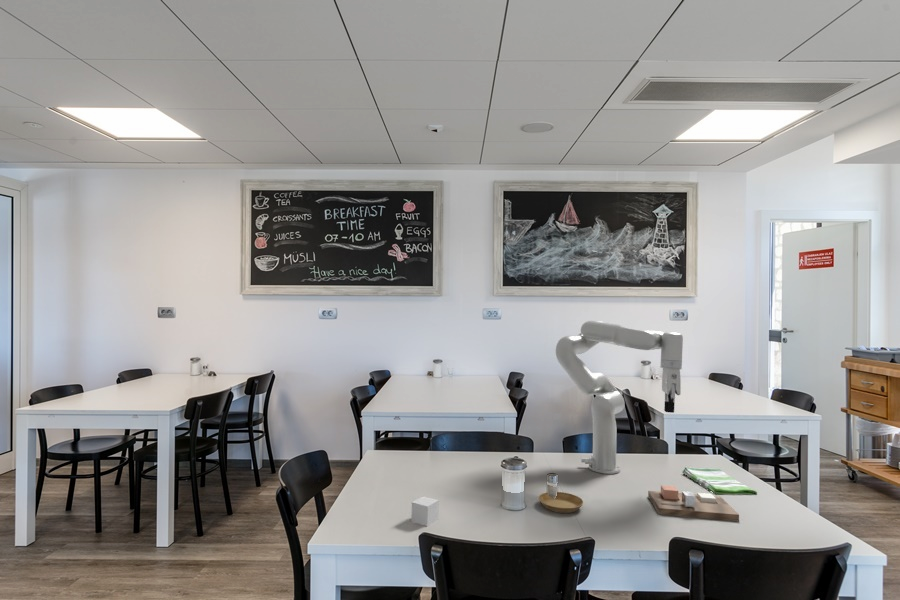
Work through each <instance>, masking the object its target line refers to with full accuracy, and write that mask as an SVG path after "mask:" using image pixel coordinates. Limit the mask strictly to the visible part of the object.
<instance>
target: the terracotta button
mask: <svg viewBox="0 0 900 600" xmlns="http://www.w3.org/2000/svg"><path fill="white" fill-rule="evenodd" d="M660 492H661V495H662V496H663V498H664V499H675V500H678V493H679V489H677V487H676V486H675V485H664V484H663V485H660Z"/></svg>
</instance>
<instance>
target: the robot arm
mask: <svg viewBox="0 0 900 600" xmlns="http://www.w3.org/2000/svg"><path fill="white" fill-rule="evenodd" d="M683 342H684V336H683V334H681V333H678V332H670V331H669V332H667V331H666V332H664V331H658V330H642V329H634V328H628V327H624V326H622V325H621V324H617V323H609V322H604V321H602V320H588V321H585V322H584V323H583V324H582V325H581V327H580V333H579V334H576V335H566V336H563V337H562V338H559V340H558V342H557V344H556V346H555V356H556V359H557V361H558V363H559V365H560V366H561V367H562V368H563V370H564V371H565V372H566V373H567V374H568V376H569V378H570V379H571V380H572V381H573V382H574V384H575V385H576V387H578V390H579V391H580V392H581V393H582V394H583V395H585V396H594V395H595V397H594V398H593V399H592V401H591V407H590V409H591V416H592V455H591V456H590V457H588V458H587V457H581V458H580V461H581V463H584V464H585V465H586V464H587V465H588V469H589V470H590V471H593V472H595V473H599V474H606V475H607V474H608V475H612V474H614V475H615V474H618V473H620V472H621V468H620V466H619V465H617V437H618V436H617V421H616V414H619V413H621V412H623V410H624V408H625V405H626V403H625V398H624V396H623V394H622V393H620V391H619V390H618V389H617V388H616V387H615V385H614V384H613V383H612V382H611V380H610V379H609V378H608V376H606V375H605V374H604V373H602V372H600V371H592V370H590V369H589V368H588V367H587V365H586V363H585V362H584V361H583V360H582V359H581V358H579V357H578V355H581V354H584V353H586V352H588V351H589V350H591V349H593V348H594V347H595V346H596V345H597V344H599V343H603V344H609V345H614V346H621V347H624V348H625V347H626V348H629V349H636V350H640V351H652V350H660V366H659V367H660V368H661V369H662V374H661V376H662V377H661V390H662V392H663V393H664V409H663V410H664V412H666V413H675V401H676V396H680V395H681V392H682V391H681V389H682V387H681V383H682V381H681V380H682V379H681V370H683V367H682V366H683V365H682V364H683V347H684V346H683V344H684V343H683Z"/></svg>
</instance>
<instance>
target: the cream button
mask: <svg viewBox="0 0 900 600" xmlns="http://www.w3.org/2000/svg"><path fill="white" fill-rule="evenodd" d="M696 495H697V499H698V500H699V501H700V502H705V503H716V498H715V497H714V496H715V495H714V494H713V493H708V492H707V493H704V492H697V493H696Z"/></svg>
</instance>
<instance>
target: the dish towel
mask: <svg viewBox="0 0 900 600" xmlns="http://www.w3.org/2000/svg"><path fill="white" fill-rule="evenodd" d="M682 474H683V475H684V474H685V476H686V475H687V476H686V477H687V478H688V479H690V478H691V479H690V480H692V479H693V480H694V481H693V480H692V481H693V482H695V481H696V482H698V483H699V484H701V485H702V486H703V487H702V486H701V485H700V486H701V487H702V488H704V487H705V488H706V489H705V488H704V489H705V490H707V489H708V490H709V491H708V490H707V491H708V492H710V491H712V492H713V493H714V494H713V493H712V492H711V493H712V494H713V495H716V494H717V495H757V494H758V491H756V490H754V489H752V488H751V487H750V486H747V485H745V484H744V483H742V482H740V481H738V480H737V479H735V478H733V477H731V476H730V475H728V474H727V473H726V472H724V471H723V470H722V469H721V468H708V467H707V468H700V467H689V466H685V467H684V469H683V470H682ZM696 482H695V483H696ZM698 483H697V484H698ZM699 484H698V485H699Z"/></svg>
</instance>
